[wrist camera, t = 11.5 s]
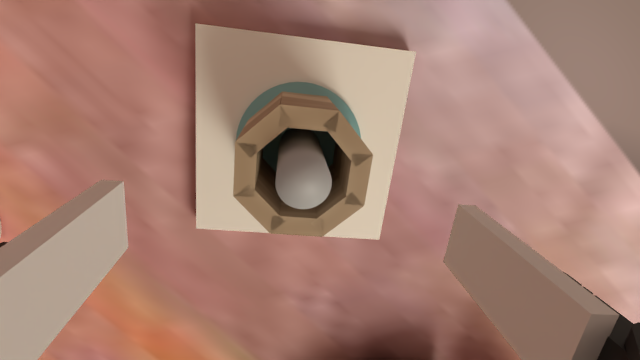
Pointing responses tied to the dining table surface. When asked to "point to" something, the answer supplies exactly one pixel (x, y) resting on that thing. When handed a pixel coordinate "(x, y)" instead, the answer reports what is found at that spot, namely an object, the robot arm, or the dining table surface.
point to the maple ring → (259, 177)
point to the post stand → (294, 144)
